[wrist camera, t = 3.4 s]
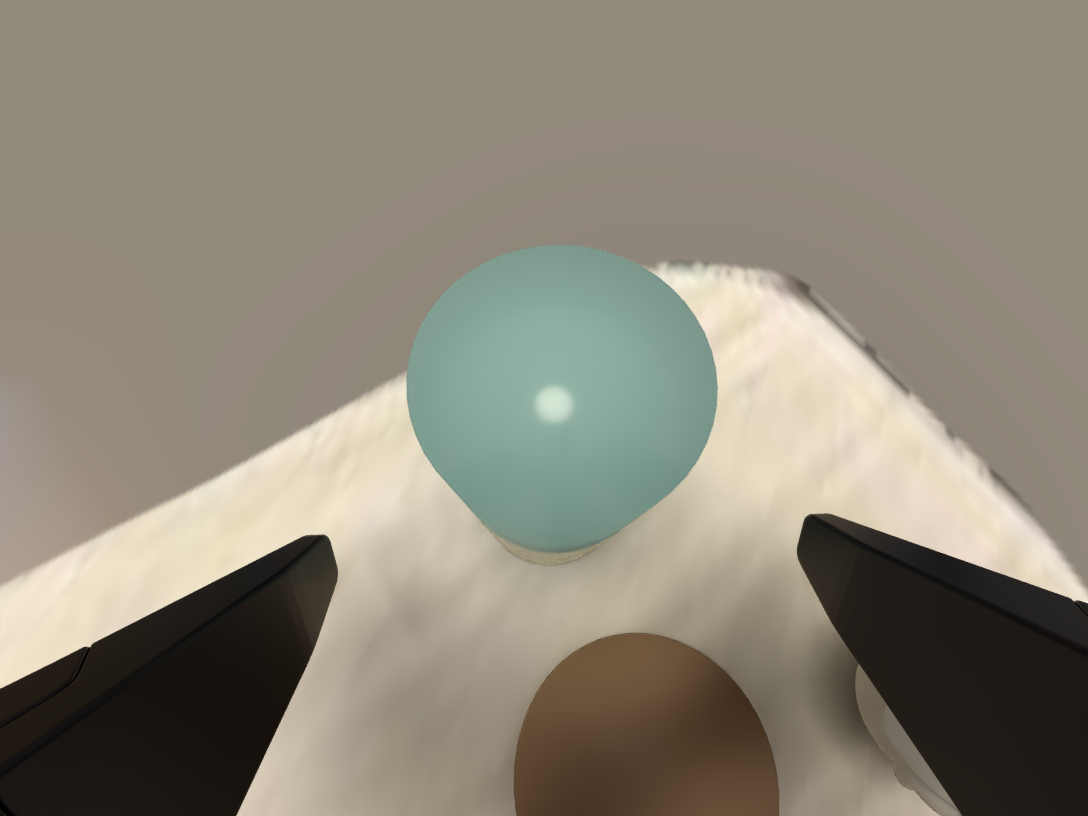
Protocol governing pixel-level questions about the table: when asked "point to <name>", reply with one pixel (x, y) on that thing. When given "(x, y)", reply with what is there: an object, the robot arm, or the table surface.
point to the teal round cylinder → (561, 396)
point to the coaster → (642, 737)
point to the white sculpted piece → (900, 748)
